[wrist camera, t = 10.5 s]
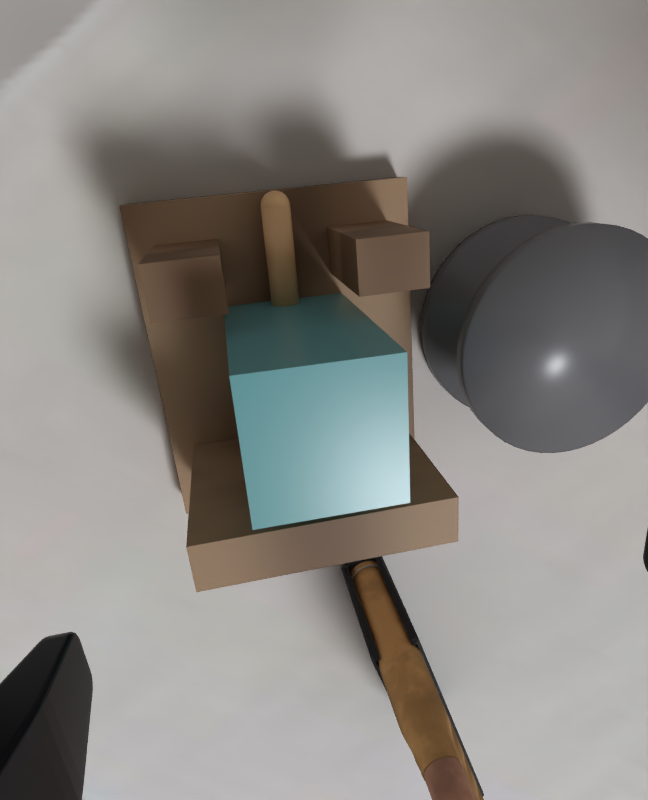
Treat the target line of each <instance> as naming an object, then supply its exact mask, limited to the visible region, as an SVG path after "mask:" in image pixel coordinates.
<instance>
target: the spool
mask: <svg viewBox="0 0 648 800" xmlns="http://www.w3.org/2000/svg"><path fill="white" fill-rule="evenodd" d="M421 341H422V347H423V351H424V356H425V358H426V361H427V364H428V366H429V368H430V370H431V372H432V374H433V375H434V377H435V378H436V380H437V381H438V382H439V383H440V385H441V386H442V387H443V388H444V389H445V390H446V391H447V392H449V393H450V394H451V395H452V396H453V397H454V398H455V399H457V400H458V401H460V402H461V403H462V404H464V405H466V406H468V407H470V409H471V411H472V412H473V413H474V415H475V416H476V417H477V418H478V420H479V421H480V422H481V423H483V424H484V425H485V426H486V427H487V428H488V429H489V430H490V431H491V432H492V433H493V434H494V435H496V436H497V437H499V438H500V439H501V440H503V441H504V442H506V443H508V444H510V445H512V446H515V447H517V448H520V449H523V450H527V451H532V452H539V453H557V452H565V451H570V450H574V449H579V448H582V447H584V446H587V445H590V444H593V443H595V442H597V441H599V440H601V439H603V438H605V437H607V436H608V435H610V434H611V433H613V432H615V431H616V430H618V429H619V428H620V427H622V426H623V425H624V424H626V423H627V422H628V421H629V420H631V419H632V418H633V417H634V416H635V415H636V414H637V413H638V412H639V411H640V410H641V409H642V408H643V407H644V406H645V404H646V403H647V402H648V239H647V238H646V237H644V236H643V235H641V234H639V233H637V232H635V231H633V230H631V229H627V228H624V227H620V226H617V225H608V224H600V223H591V222H586V223H572V224H570V223H568V222H566V221H563V220H560V219H556V218H551V217H543V216H534V215H526V216H515V217H510V218H505V219H502V220H499V221H496V222H493V223H491V224H489V225H487V226H485V227H483V228H481V229H479V230H478V231H476V232H475V233H473V234H472V235H470V236H469V237H468V238H466V239H465V240H464V241H463V242H462V243H460V244H459V245H458V246H457V247H456V248H455V249H454V250H453V251H452V253H451V254H450V255H449V256H448V257H447V258H446V260H445V261H444V262H443V264H442V265H441V267H440V268H439V270H438V272H437V273H436V275H435V277H434V278H433V280H432V283H431V285H430V288H429V290H428V292H427V295H426V299H425V302H424V305H423V311H422V317H421Z"/></svg>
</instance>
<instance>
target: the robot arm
mask: <svg viewBox="0 0 648 800" xmlns="http://www.w3.org/2000/svg"><path fill="white" fill-rule="evenodd" d="M643 560H644V564H645V567H646V569H647V571H648V530H647V536H646V542H645V548H644V554H643ZM92 691H93V683H92V675H91V671H90V668H89V665H88V662H87V659H86V656H85V654H84V651H83V648H82V645H81V642H80V639H79V637H78V636H77V634H76V633H73V632H67V633H62V634H57V635H52V636H48V637H45V638H44V639H42V640H41V641H40V642H39V643H38V644H37V645H36V646H35V647H34V648H33V649H32V650H31V651H30V653H29V654H28V655H27V656H26V657H25V658H24V659H23V660H22V661H21V662H20V663H19V664H18V665H17V666H16V667H15V668H14V670H13V671H12V672H11V673H10V674H9V675H8V676H7V677H6V678H5V679H4V680H3V681H2V682H1V683H0V800H82V793H83V785H84V774H85V764H86V754H87V743H88V733H89V723H90V712H91V702H92Z"/></svg>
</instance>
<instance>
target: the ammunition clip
mask: <svg viewBox="0 0 648 800" xmlns="http://www.w3.org/2000/svg"><path fill="white" fill-rule="evenodd" d="M341 569H342V572H343V575H344V578H345V581H346V584H347V587H348V590H349V593H350V596H351V599H352V602H353V605H354V608H355V611H356V614H357V617H358V620H359V623H360V626H361V629H362V632H363V635H364V638H365V642H366V645H367V648H368V651H369V654H370V657H371V660H372V662H373V664H374V666H375V668H376V670H377V672H378V674H379V676H380V678H381V680H382V683H383V685H384V687H385V689H386V691H387V693H388V696H389V699H390V702H391V704H392V707H393V710H394V713H395V716H396V719H397V722H398V725H399V727H400V730H401V732H402V735H403V737H404V739H405V740H406V742H407V744H408V746H409V747H410V749H411V751H412V753H413V755H414V758H415V761H416V763H417V765H418V767H419V769H420V771H421V774H422V776H423V778H424V780H425V781H426V784H427V787H428V789H429V792H430V795H431V798H432V800H484V799H483V796H484V793H483V791H482V789H481V786H480V784H479V781H478V779H477V777H476V774H475V772H474V769H473V767H472V765H471V762H470V760H469V758H468V755H467V753H466V750H465V748H464V746H463V743H462V741H461V739H460V736H459V734H458V731H457V729H456V727H455V724H454V722H453V720H452V717H451V715H450V712H449V710H448V708H447V705H446V703H445V700H444V698H443V696H442V693H441V691H440V689H439V686H438V684H437V681H436V679H435V677H434V674H433V672H432V670H431V667H430V665H429V662H428V660H427V658H426V655H425V653H424V650H423V648H422V646H421V643H420V641H419V639H418V636H417V634H416V632H415V630H414V627H413V625H412V623H411V621H410V618H409V616H408V614H407V612H406V609H405V607H404V605H403V603H402V600H401V598H400V596H399V594H398V591H397V589H396V587H395V585H394V583H393V580H392V578H391V576H390V574H389V571H388V569H387V567H386V565H385V562H384V560H383V558H382V556H380V557H374V558H369V559H364V560H359V561H354V562H351V563H349V564H346V565H344V566H342V568H341Z"/></svg>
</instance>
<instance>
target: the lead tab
mask: <svg viewBox="0 0 648 800" xmlns="http://www.w3.org/2000/svg"><path fill="white" fill-rule="evenodd" d="M261 215H262V223H263V232H264V241H265V250H266V259H267V267H268V276H269V285H270V294H271V301H268V302H259V303H251V304H242V305H233V306H228V310H229V314H224V320H225V331H226V343H227V355H228V367H229V377H230V384H231V391H232V397H233V404H234V410H235V417H236V424H237V430H238V437H239V443H240V450H241V457H242V463H243V470H244V477H245V483H246V490H247V496H248V503H249V510H250V516H251V523H252V529H253V530H256V529H262V528H267V527H273V526H279V525H285V524H291V523H296V522H302V521H308V520H314V519H319V518H325V517H331V516H337V515H343V514H348V513H354V512H360V511H366V510H371V509H377V508H383V507H389V506H395V505H400V504H406V503H410V463H409V413H408V364H407V352H406V351H405V350H404V349H403V348H402V347H401V346H400V345H399V344H398V343H396V342H395V341H394V340H393V339H392V338H391V337H390V336H389V335H388V334H387V333H385V332H384V331H383V330H382V329H381V328H380V327H379V326H378V325H377V324H375V323H374V322H373V321H372V320H371V319H370V318H369V317H368V316H367V315H366V314H364V313H363V312H362V311H361V310H360V309H359V308H358V307H357V306H356V305H354V304H353V303H352V302H351V301H350V300H349V299H348V298H347V297H346V296H344V295H343V294H342V293H337V294H328V295H320V296H311V297H302V298H299V293H298V283H297V272H296V262H295V251H294V240H293V230H292V219H291V209H290V202H289V199H288V198H287V196H286V195H285V194H284V193H282V192H280V191H270V192H268V193H266V194H265V195H264V197H263V198H262V201H261Z"/></svg>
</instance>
